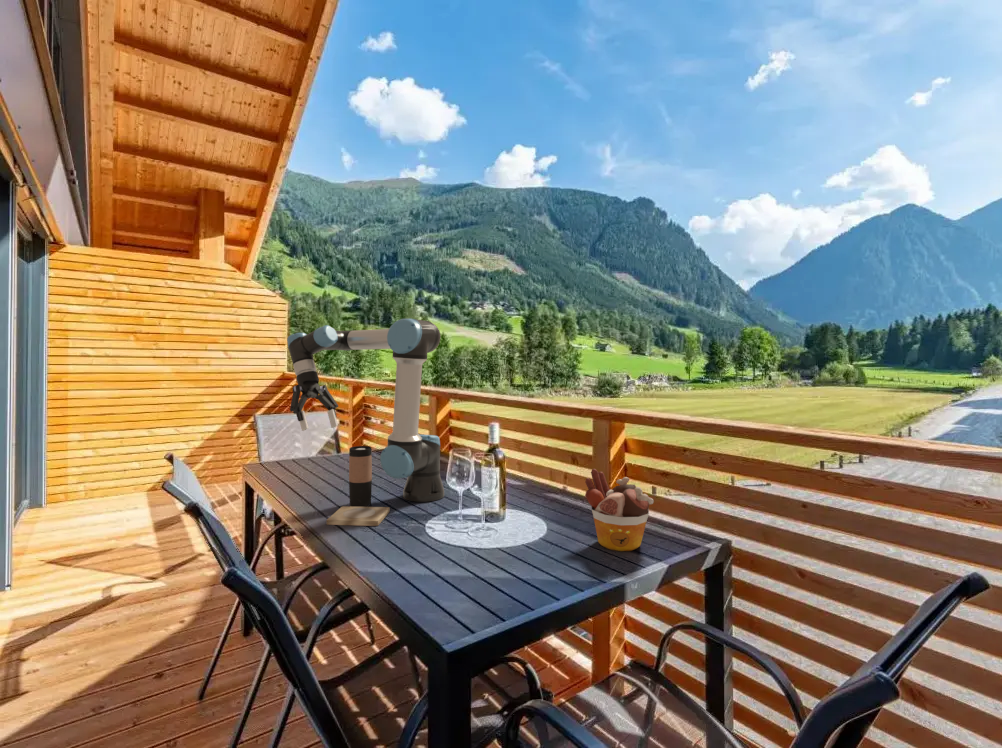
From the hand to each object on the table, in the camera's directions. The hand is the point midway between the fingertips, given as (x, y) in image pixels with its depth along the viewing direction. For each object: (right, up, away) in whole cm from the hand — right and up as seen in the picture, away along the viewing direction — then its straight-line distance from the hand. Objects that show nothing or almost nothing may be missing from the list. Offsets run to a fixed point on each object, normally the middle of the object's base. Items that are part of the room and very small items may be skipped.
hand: (320, 428), depth 185 cm
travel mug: (+17, -26, -8) cm, 32 cm away
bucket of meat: (+99, -29, -41) cm, 111 cm away
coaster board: (+20, -27, -22) cm, 40 cm away
